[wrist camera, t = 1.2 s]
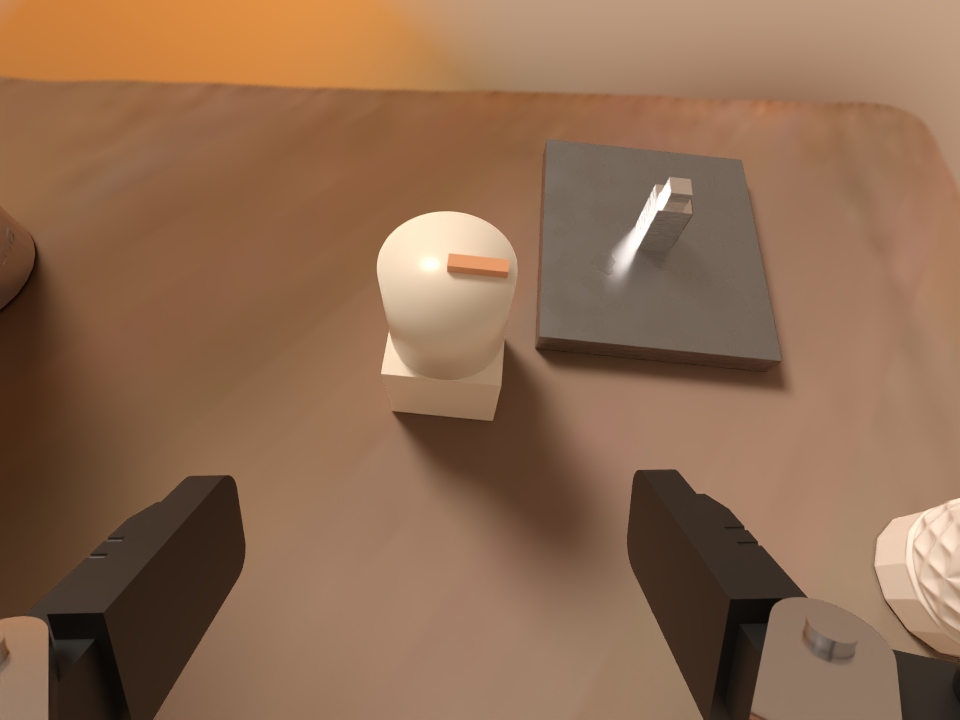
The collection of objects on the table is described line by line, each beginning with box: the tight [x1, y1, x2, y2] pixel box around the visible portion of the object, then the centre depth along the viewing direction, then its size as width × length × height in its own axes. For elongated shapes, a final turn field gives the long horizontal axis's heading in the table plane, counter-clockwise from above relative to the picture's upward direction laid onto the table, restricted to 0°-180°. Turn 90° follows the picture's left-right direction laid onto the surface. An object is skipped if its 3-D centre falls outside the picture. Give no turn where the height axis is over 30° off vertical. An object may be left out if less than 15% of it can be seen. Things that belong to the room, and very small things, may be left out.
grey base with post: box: [535, 139, 782, 372], centre depth 31 cm, size 14×16×6 cm
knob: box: [377, 211, 518, 421], centre depth 24 cm, size 6×6×10 cm
